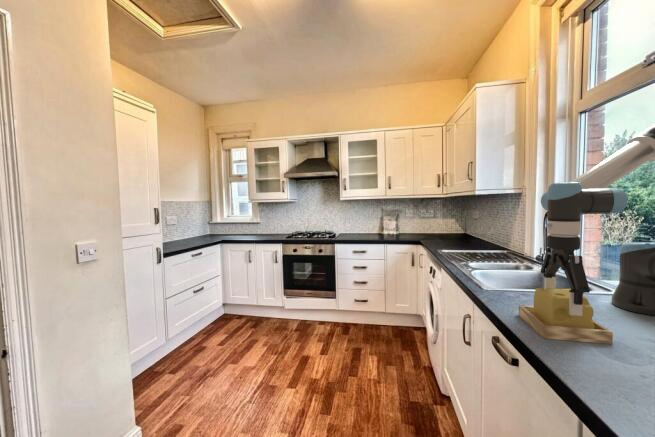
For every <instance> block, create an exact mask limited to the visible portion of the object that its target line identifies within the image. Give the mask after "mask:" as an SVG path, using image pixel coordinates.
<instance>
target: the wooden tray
mask: <svg viewBox="0 0 655 437" xmlns="http://www.w3.org/2000/svg"><path fill="white" fill-rule="evenodd" d="M518 316H519V317H520V318H521V319H522V320H523V321H524V322H525V323H527V324H528V326H530V328H532V330H534V331H535V332H536V334H538V335H539V336H540V337H541V338H542V339H547V340H548V339H549V340H560V341H574V342H584V343H585V342H586V343H593V344H594V343H596V344H607V345H613V340H614V339H613V338H614V336H613V335H614V332H613V331H612V330H610V329H609V328H607V326H603V324H601V323H599V322H597V321H596V320H594V319H593V318H592V321H593V323H594V326H595V329H585V328H572V327H560V326H547V325H544V324H543V323H542V322H541V321H540V320H538V319H537V318H536V317H535V313H534V305H518Z"/></svg>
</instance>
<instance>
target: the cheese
mask: <svg viewBox="0 0 655 437" xmlns="http://www.w3.org/2000/svg"><path fill="white" fill-rule="evenodd" d="M569 290H571V288H555V289H544V288H540V287H539V288H538V287H537V288H535V291H534V294H533V306H534V313H535V317H536V318H537V319H538V320H540V321H541V322H542V323H543V324H544V325H547V326H560V327H572V328H585V329H595V326H594V323H593V321H592V319H593V317H594V313H595V312H594V308H593V307H592V305H590V304H591V303H589V300H588V298H587V297H586V296H585V295H583V309H582V316H578V315H570V314H569Z"/></svg>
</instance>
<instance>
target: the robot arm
mask: <svg viewBox="0 0 655 437" xmlns="http://www.w3.org/2000/svg"><path fill="white" fill-rule="evenodd" d="M654 161H655V124H653V125H651V126H650V127H647V128H646V129H644V130H643V131H641V132H640V133H638V134H636V135H635V136H634V137H632V138H631V139H629V140H628V141H627V144H626V145H625V146H623V147H622V148H620V149H619V150H617V151H616V152H615V153H613V154H611V155H610V156H609V157H607V158H605V159H603V160H602V161H600V162H598V163H597V164H596V165H594V166H593V167H591V168H589V169H588V170H587V171H585V172H583V173H582V174H580V175H579V176H578V177H576V178H575V179H572V180H571V181H569V182H555V183H554V182H553V183H551V184H550V185H549V186H548V189H547V191H546V192H544V193H543V194H542V196H541V197H540V204H541V206H542V208H543V209H544V210H545V211H547V213H546V214H547V218H546V219H547V224H545V227H546V230H547V231H546V232H547V234H548V235H547V236H546V249H545V256H544V260H543V262H542V266H541V269H540V274H543V277H544V288H543V289H556V287H557V286H556V284H557V283H556V280H557V275H556V274H557V272H558V270H559V269H561V270H562V271H563V272H564V273H565V277H566V279H567V282H568V284H569V287H570V289H571V290H569V314H570V315H578V316H582V309H583V296H584V294H586V293H587V294H588V293H590V290H591V289H590V287H589V283H588V279H587V275H586V271H585V268H584V267H585V266H584V264H583V256H582V255H575V251H578V250H580V249H581V237H580V235H581V229H582V215H603V214H604V215H610V214H618V213H620V212H622V211H624V210H625V209H626V207H627V206H628V200H629V199H628V195H627V193H626V192H625V191H624V190H622V189H620V188H616V187H609V186H610V185H612V184H614V183H615V182H617V181H618V180H620V179H621V178H623V177H625V176H626V175H628V174H629V173H631V172H633V171H634V170H636V169H637V168H639V167H641V166H642V165H644V164H645V163H647V162H654ZM618 279H619V282H618V285H617V286H616V288H615V290H614V292H613V294H612V295H611V304H612V305H614V307H617V308H620V309H623V310H627V311H629V312H633V313H637V314H642V315H647V316H653V317H654V316H655V241H654V242H650V241H649V242H637V241H636V242H625V243H623V244H622V245H621V247H620V253H619V278H618Z"/></svg>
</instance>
